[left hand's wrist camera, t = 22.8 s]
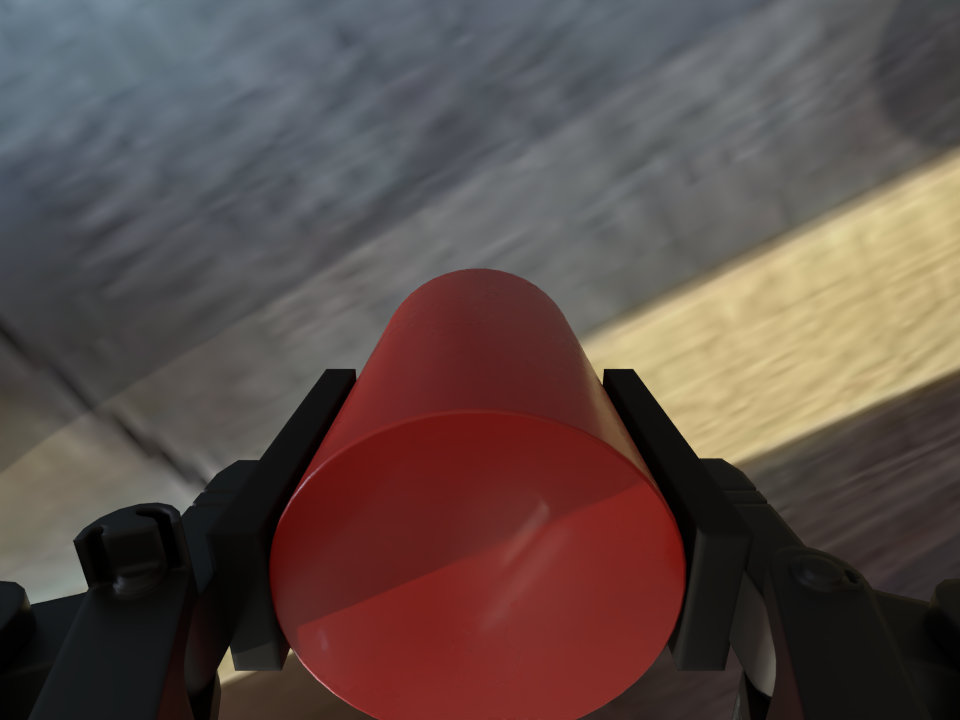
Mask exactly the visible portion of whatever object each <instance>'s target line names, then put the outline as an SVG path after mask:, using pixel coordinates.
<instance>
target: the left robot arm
mask: <svg viewBox="0 0 960 720" xmlns="http://www.w3.org/2000/svg"><path fill="white" fill-rule="evenodd" d="M355 383H356V370H355V369H326V370H325V372H324V373H323V374H322V376H321V377H320V379H319V380H318V381H317V383H316V384H315V385H314V387H313V388H312V389H311V391H310V392H309V393H308V395H307V396H306V398H305V399H304V400H303V402H302V403H301V404H300V406H299V407H298V408H297V410H296V411H295V412H294V414H293V415H292V417H291V418H290V419H289V421H288V422H287V423H286V425H285V426H284V427H283V429H282V430H281V431H280V433H279V434H278V436H277V437H276V438H275V440H274V441H273V442H272V444H271V445H270V446H269V448H268V449H267V450H266V452H265V453H264V455H263V456H262V457H261V459H260V460H238V461H236V462H235V463H233V464H232V465H230V466H228V467H227V468H225V469H224V470H222V471H221V472H219V473H217V474H216V476H215V477H214V478H213V479H212V480H211V482H210V483H209V484H208V485H207V486H206V488H205V489H204V493H201V494H200V495H199V496H198V497H197V498H196V499H195V501H194V502H193V506H190V507H189V508H188V509H187V510H186V511H185V513H184V514H183V515H182V516H181V515H180V511H178V510H177V509H176V508H174V507H173V506H172V505H168V504H163V503H145V504H137V505H134V506H130V507H126V508H122V509H119V510H117V511H114V512H112V513H110V514H107V515H105V516H103V517H101V518H99V519H97V520H96V521H94V522H93V523H91V524H90V525H89V526H87V527H86V528H84V529H83V530H82V531H81V532H80V534H79V535H78V536H77V537H76V538H75V539H74V540H73V542H74V545H75V548H76V551H77V554H78V557H79V560H80V563H81V566H82V569H83V572H84V575H85V578H86V581H87V584H88V587H89V588H88V590H87V592H84V593H81V594H77V595H72V596H68V597H63V598H59V599H54V600H50V601H45V602H40V603H36V604H31V605H30V602H29V600H28V597H27V594H26V592H25V589H24V588H23V587H21V586H20V585H19V584H17V583H16V582H7V581H0V720H218V715H219V706H220V698H221V686H220V679H219V675H218V671H217V669H218V667H219V665H220V663H221V661H222V659H223V657H224V655H225V653H226V651H227V649H228V647H229V645H230V649H231V654H232V658H233V663H234V667H235V671H281V670H282V668H283V665H284V663H285V660H286V658H287V655H288V652H289V650H290V646H289V644H288V642H287V640H286V638H285V636H284V634H283V632H282V631H281V629H280V627H279V624H278V621H277V618H276V615H275V611H274V607H273V601H272V595H271V589H270V583H269V558H270V552H271V546H272V540H273V537H274V534H275V531H276V528H277V525H278V522H279V519H280V517H281V515H282V513H283V511H284V510H285V508H286V506H287V504H288V502H289V500H290V499H291V497H292V495H293V493H294V491H295V490H296V488H297V486H298V484H299V482H300V481H301V479H302V477H303V475H304V474H305V472H306V470H307V468H308V466H309V465H310V463H311V461H312V459H313V458H314V456H315V454H316V452H317V450H318V449H319V447H320V445H321V443H322V441H323V440H324V438H325V436H326V434H327V433H328V431H329V429H330V427H331V425H332V424H333V422H334V420H335V418H336V417H337V415H338V413H339V411H340V409H341V408H342V406H343V404H344V402H345V400H346V399H347V397H348V395H349V393H350V392H351V390H352V388H353V386H354V384H355ZM603 387H604V389H605V391H606V393H607V395H608V396H609V398H610V400H611V402H612V404H613V405H614V407H615V409H616V411H617V413H618V415H619V416H620V418H621V420H622V422H623V424H624V425H625V427H626V429H627V431H628V433H629V435H630V436H631V438H632V440H633V442H634V444H635V445H636V447H637V449H638V451H639V453H640V455H641V456H642V458H643V460H644V462H645V464H646V465H647V467H648V469H649V471H650V473H651V474H652V476H653V478H654V480H655V482H656V484H657V485H658V487H659V489H660V491H661V493H662V494H663V496H664V498H665V500H666V502H667V504H668V506H669V508H670V509H671V511H672V513H673V515H674V517H675V519H676V522H677V525H678V528H679V531H680V534H681V537H682V540H683V545H684V551H685V557H686V589H685V595H684V600H683V606H682V610H681V613H680V616H679V618H678V621H677V624H676V627H675V629H674V631H673V633H672V635H671V637H670V639H669V641H668V646H669V648H670V651H671V654H672V656H673V659H674V661H675V664H676V666H677V669H678V671H724V670H725V666H726V661H727V657H728V652H729V647H730V644H731V645H732V647H733V649H734V651H735V653H736V655H737V657H738V659H739V661H740V663H741V665H742V667H743V671H742V675H741V679H740V683H739V688H738V692H737V696H736V700H735V704H734V709H733V713H732V720H740V719H741V715H742V720H960V579H948V580H944V581H942V582H941V583H940V584H938V585H937V586H936V588H935V590H934V593H933V595H932V598H931V601H930V602H926V601H921V600H917V599H912V598H908V597H903V596H899V595H894V594H890V593H885V592H881V591H877V590H874V589H872V587H871V586H870V585H869V583H868V582H867V581H866V579H865V578H864V576H863V575H862V574H861V573H860V572H858V571H857V570H856V569H854V568H853V567H852V566H851V565H849V564H848V563H847V562H845V561H843V560H841V559H839V558H837V557H835V556H833V555H831V554H829V553H826V552H823V551H820V550H816V549H813V548H809V547H806V546H805V545H804V544H803V543H802V541H801V540H800V539H799V538H798V537H797V535H796V534H795V533H794V532H793V531H792V530H791V528H790V527H789V526H788V525H787V524H786V522H785V521H784V520H783V519H782V518H781V517H780V515H779V514H778V513H777V512H776V511H775V509H774V508H773V507H772V506H771V505H770V504H767V500H766V499H765V498H764V496H763V495H762V494H761V493H760V492H759V491H756V487H755V486H754V485H753V483H752V482H751V481H750V480H749V479H748V478H747V476H746V475H745V474H744V473H743V472H742V471H740V470H739V469H737V468H736V467H734V466H733V465H731V464H729V463H728V462H726V461H725V460H723V459H722V458H698V457H697V455H696V454H695V452H694V451H693V450H692V448H691V447H690V446H689V444H688V443H687V442H686V440H685V439H684V438H683V436H682V435H681V433H680V432H679V431H678V429H677V428H676V427H675V425H674V424H673V423H672V421H671V420H670V419H669V417H668V416H667V414H666V413H665V412H664V410H663V409H662V408H661V406H660V405H659V404H658V402H657V401H656V400H655V398H654V397H653V395H652V394H651V393H650V391H649V390H648V389H647V387H646V386H645V385H644V383H643V382H642V381H641V379H640V378H639V376H638V375H637V374H636V372H635V371H634V370H633V369H604V376H603Z"/></svg>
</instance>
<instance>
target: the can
mask: <svg viewBox="0 0 960 720" xmlns="http://www.w3.org/2000/svg"><path fill="white" fill-rule="evenodd" d="M269 583H270V589H271V595H272V601H273V607H274V611H275V615H276V618H277V621H278V624H279V627H280V629H281V631H282V632H283V634H284V636H285V638H286V640H287V642H288V644H289V646H290V647H291V649H292V650H293V652H294V653H295V654H296V656H297V657H298V659H299V660H300V661H301V663H302V664H303V665H304V666H305V667H306V668H307V669H308V670H309V672H310V673H311V674H312V675H313V676H314V677H315V678H316V679H317V680H318V681H319V682H320V683H322V684H323V685H324V686H325V687H326V688H328V689H329V690H330V691H331V692H332V693H334V694H335V695H336V696H338V697H339V698H341V699H342V700H344V701H346V702H347V703H349V704H350V705H352V706H353V707H355V708H357V709H359V710H361V711H363V712H365V713H367V714H369V715H371V716H372V717H375V718H377V719H380V720H576V719H578V718H581V717H583V716H585V715H587V714H589V713H591V712H593V711H595V710H597V709H599V708H601V707H602V706H604V705H605V704H607V703H608V702H610V701H611V700H613V699H614V698H616V697H618V696H619V695H620V694H622V693H623V692H624V691H625V690H627V689H628V688H629V687H630V686H631V685H633V684H634V683H635V682H636V681H637V680H638V679H639V678H640V677H641V676H642V675H643V674H644V673H645V672H646V671H647V670H648V669H649V668H650V667H651V666H652V664H653V663H654V662H655V660H656V659H657V658H658V656H659V655H660V653H661V652H662V651H663V649H664V648H665V646H666V644H667V643H668V641H669V639H670V637H671V635H672V633H673V631H674V629H675V627H676V624H677V621H678V618H679V616H680V613H681V610H682V606H683V600H684V595H685V589H686V557H685V551H684V545H683V540H682V537H681V534H680V531H679V528H678V525H677V522H676V519H675V517H674V515H673V513H672V511H671V509H670V508H669V506H668V504H667V502H666V500H665V498H664V496H663V494H662V493H661V491H660V489H659V487H658V485H657V484H656V482H655V480H654V478H653V476H652V474H651V473H650V471H649V469H648V467H647V465H646V464H645V462H644V460H643V458H642V456H641V455H640V453H639V451H638V449H637V447H636V445H635V444H634V442H633V440H632V438H631V436H630V435H629V433H628V431H627V429H626V427H625V425H624V424H623V422H622V420H621V418H620V416H619V415H618V413H617V411H616V409H615V407H614V405H613V404H612V402H611V400H610V398H609V396H608V395H607V393H606V391H605V389H604V387H603V385H602V384H601V382H600V380H599V378H598V376H597V375H596V373H595V371H594V369H593V367H592V365H591V364H590V362H589V360H588V358H587V356H586V355H585V353H584V351H583V349H582V347H581V345H580V344H579V342H578V340H577V338H576V336H575V335H574V333H573V331H572V329H571V327H570V325H569V324H568V322H567V320H566V318H565V316H564V315H563V313H562V312H561V310H560V309H559V308H558V306H557V305H556V303H555V302H554V301H553V300H552V299H551V298H550V297H549V296H548V295H547V294H546V293H544V292H543V291H542V290H541V289H539V288H538V287H537V286H535V285H534V284H532V283H530V282H528V281H527V280H525V279H523V278H520V277H518V276H516V275H513V274H510V273H506V272H503V271H499V270H491V269H466V270H458V271H455V272H451V273H447V274H444V275H442V276H439V277H437V278H434V279H432V280H430V281H429V282H427V283H425V284H423V285H422V286H420V287H419V288H418V289H417V290H415V291H414V292H413V293H411V294H410V295H409V296H408V297H407V298H406V299H405V300H404V301H403V302H402V304H401V305H400V306H399V308H398V309H397V310H396V312H395V313H394V315H393V317H392V318H391V320H390V322H389V324H388V326H387V327H386V329H385V331H384V333H383V335H382V336H381V338H380V340H379V342H378V343H377V345H376V347H375V349H374V351H373V352H372V354H371V356H370V358H369V359H368V361H367V363H366V365H365V367H364V368H363V370H362V372H361V374H360V376H359V377H358V379H357V381H356V383H355V384H354V386H353V388H352V390H351V392H350V393H349V395H348V397H347V399H346V400H345V402H344V404H343V406H342V408H341V409H340V411H339V413H338V415H337V417H336V418H335V420H334V422H333V424H332V425H331V427H330V429H329V431H328V433H327V434H326V436H325V438H324V440H323V441H322V443H321V445H320V447H319V449H318V450H317V452H316V454H315V456H314V458H313V459H312V461H311V463H310V465H309V466H308V468H307V470H306V472H305V474H304V475H303V477H302V479H301V481H300V482H299V484H298V486H297V488H296V490H295V491H294V493H293V495H292V497H291V499H290V500H289V502H288V504H287V506H286V508H285V510H284V511H283V513H282V515H281V517H280V519H279V522H278V525H277V528H276V531H275V534H274V537H273V540H272V546H271V552H270V558H269Z"/></svg>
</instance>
